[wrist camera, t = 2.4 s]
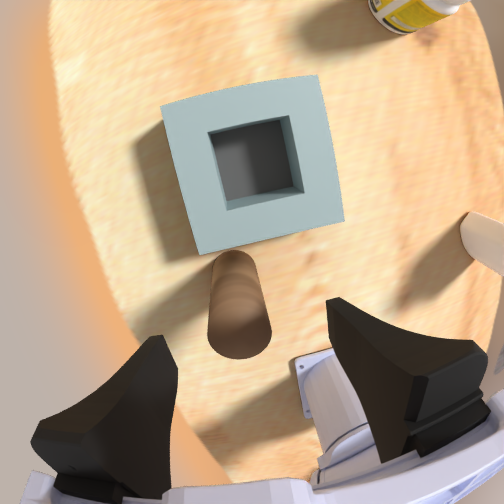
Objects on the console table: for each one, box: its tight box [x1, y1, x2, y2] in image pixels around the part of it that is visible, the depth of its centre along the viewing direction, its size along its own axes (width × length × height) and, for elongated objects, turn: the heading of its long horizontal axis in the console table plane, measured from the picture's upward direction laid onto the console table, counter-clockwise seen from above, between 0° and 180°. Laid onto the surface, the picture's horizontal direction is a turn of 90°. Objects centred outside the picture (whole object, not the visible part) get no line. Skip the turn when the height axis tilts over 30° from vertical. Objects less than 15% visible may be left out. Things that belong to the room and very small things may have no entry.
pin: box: [207, 250, 272, 359], centre depth 18 cm, size 3×3×8 cm
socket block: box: [160, 75, 345, 255], centre depth 17 cm, size 9×9×4 cm
